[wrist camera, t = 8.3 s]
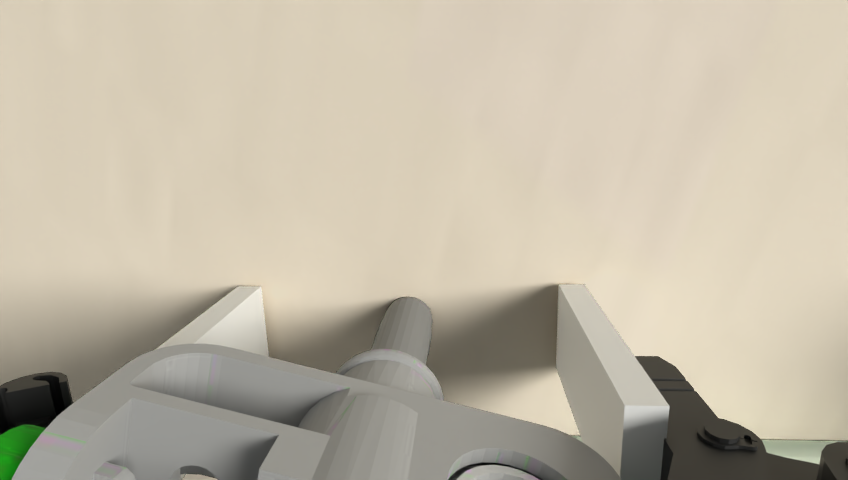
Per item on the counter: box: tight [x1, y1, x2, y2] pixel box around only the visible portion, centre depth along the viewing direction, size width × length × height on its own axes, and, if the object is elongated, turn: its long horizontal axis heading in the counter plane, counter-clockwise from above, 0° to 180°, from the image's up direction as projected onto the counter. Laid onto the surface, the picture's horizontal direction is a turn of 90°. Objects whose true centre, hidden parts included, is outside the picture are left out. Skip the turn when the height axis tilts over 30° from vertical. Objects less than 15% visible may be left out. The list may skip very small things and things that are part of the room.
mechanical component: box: [0, 297, 622, 480], centre depth 11 cm, size 3×10×10 cm, turn 77°
